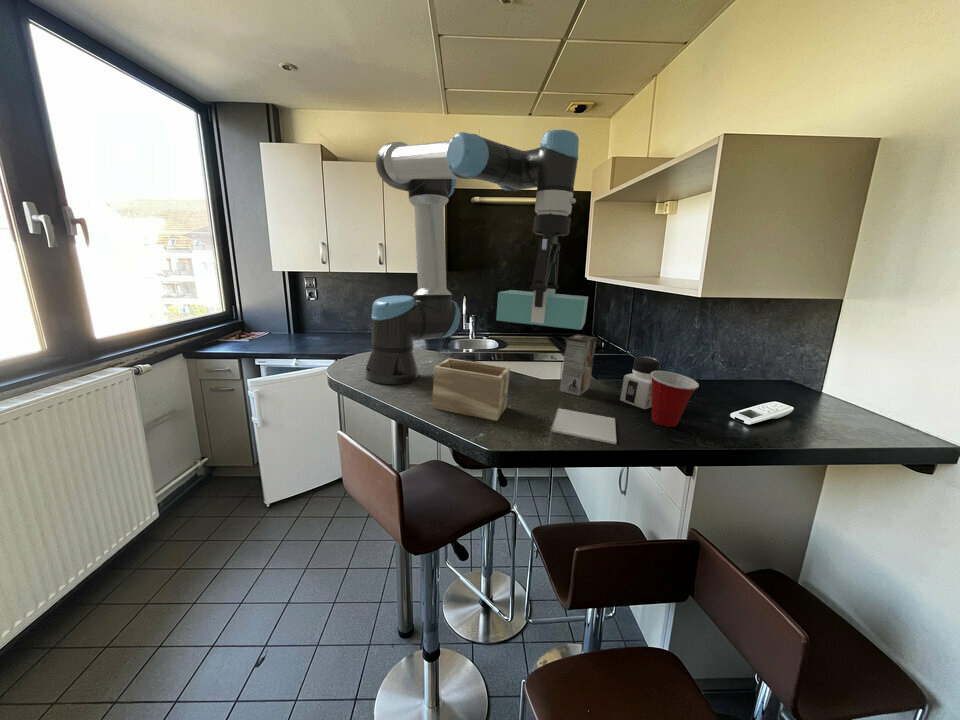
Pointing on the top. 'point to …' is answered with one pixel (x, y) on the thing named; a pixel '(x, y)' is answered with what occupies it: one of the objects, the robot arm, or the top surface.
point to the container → (639, 383)
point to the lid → (557, 314)
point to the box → (470, 388)
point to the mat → (584, 425)
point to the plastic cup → (670, 396)
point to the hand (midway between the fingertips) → (542, 319)
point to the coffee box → (578, 364)
